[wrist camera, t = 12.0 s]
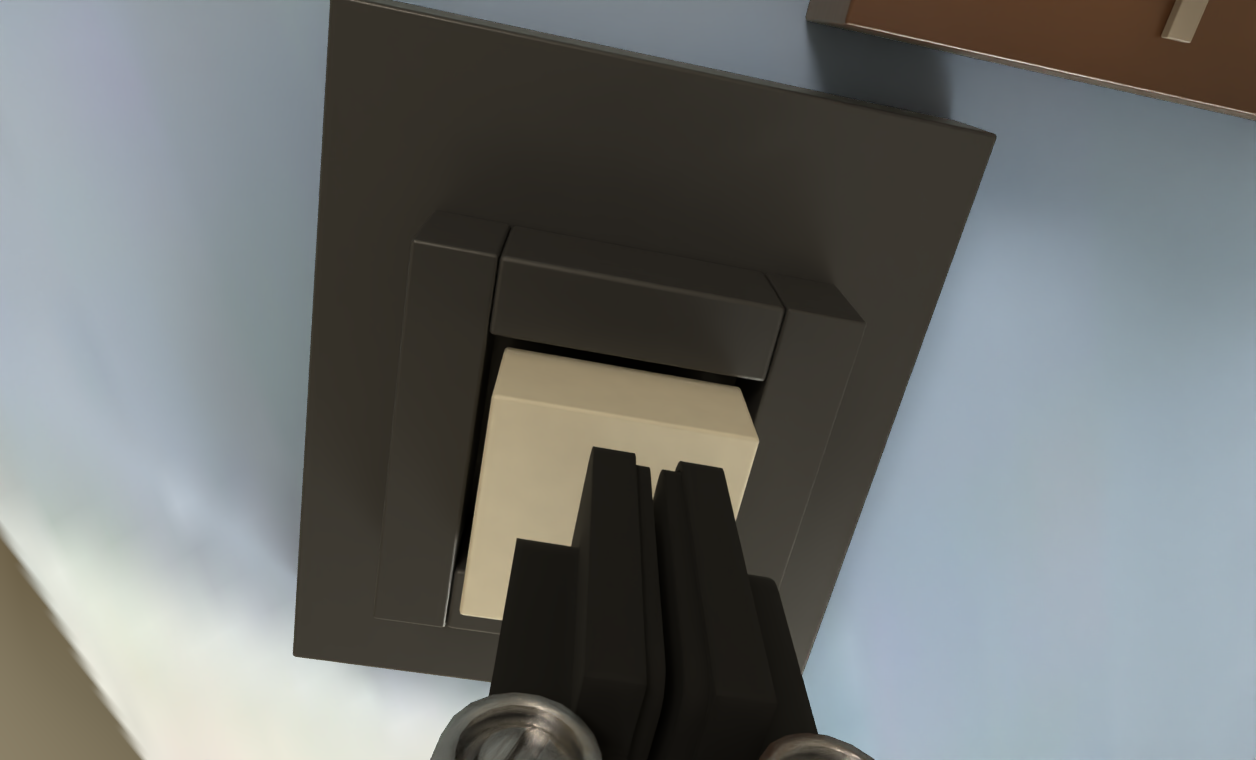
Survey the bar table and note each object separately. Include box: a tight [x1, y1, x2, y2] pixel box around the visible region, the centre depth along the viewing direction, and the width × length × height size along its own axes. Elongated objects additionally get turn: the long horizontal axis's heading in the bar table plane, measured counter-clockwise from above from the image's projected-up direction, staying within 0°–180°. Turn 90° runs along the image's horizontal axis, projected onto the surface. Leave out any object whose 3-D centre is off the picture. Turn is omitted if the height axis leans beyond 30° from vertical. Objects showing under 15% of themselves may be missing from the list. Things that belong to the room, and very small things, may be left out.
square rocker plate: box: [293, 0, 996, 682], centre depth 15 cm, size 12×10×4 cm
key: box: [460, 347, 759, 620], centre depth 13 cm, size 4×4×2 cm
